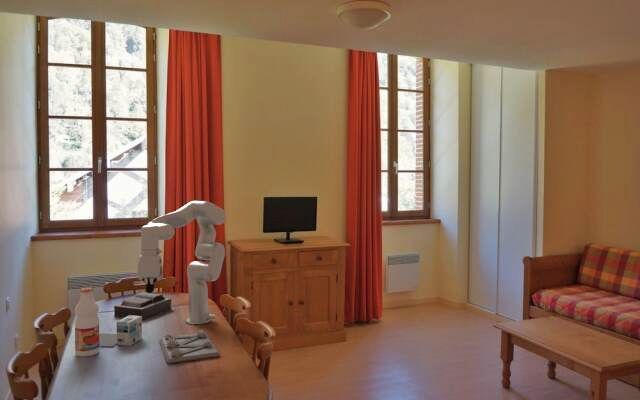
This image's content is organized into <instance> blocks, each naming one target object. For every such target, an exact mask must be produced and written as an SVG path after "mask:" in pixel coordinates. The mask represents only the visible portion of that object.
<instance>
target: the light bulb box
mask: <svg viewBox="0 0 640 400" xmlns="http://www.w3.org/2000/svg"><path fill="white" fill-rule="evenodd" d="M116 334H117V345H116V346H128V347H129V346H131V345H133V344H135V343H137V342H138V341H140V340H143V321H142V316H133V315H129V316H127V317H125V318H121V319H119V320H117V321H116Z"/></svg>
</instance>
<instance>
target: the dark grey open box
mask: <svg viewBox="0 0 640 400" xmlns="http://www.w3.org/2000/svg"><path fill="white" fill-rule="evenodd" d="M171 305H172V298H170V297H168V298H167V297H164V295H163V293H160V294H159V293H158V294H157V293H147V291H142V292H139V293H137V294H135V295H134V296H131V297H128V298H125V299H123V300H122V302H121V303H118V304H116V305H114V306H113V308H114V309H113V310H114V318H121V319H123V318H125V317H127V316H129V315H133V316H142V322H143V321H145V320H147V319H149V318H152V316H153V317H156V316H157V314H158V315H160V314H163V313H165V312H168V311H169V309H170V310H172V306H171ZM167 310H168V311H167ZM162 312H163V313H162Z"/></svg>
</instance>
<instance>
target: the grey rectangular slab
mask: <svg viewBox="0 0 640 400" xmlns="http://www.w3.org/2000/svg"><path fill="white" fill-rule="evenodd" d="M196 332H197V333H191V334H183V335H173V334H172V333H170V332H168V333H165V335H164V337H161V338H160V339H159V344H160V346H161V349H162V351H163V354H164V357H165V359H166V362H167V363H168V364H169V365H173V364H177V363H185V362H192V360H193V361H199V360H198V359H200V360H206V359H205V358H207V359H211V358H210V357H214V358H217V357H216V356H218V357H219V356H220V355H221V353H220V352H219V351H218V349H217V347H216V346H215V345H214V342H213V340H211V338H210V337H209V336H208V333H207V332H206V331H205V330H204V329H200V330H198V331H197V330H196Z"/></svg>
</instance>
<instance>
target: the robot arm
mask: <svg viewBox="0 0 640 400" xmlns="http://www.w3.org/2000/svg"><path fill="white" fill-rule="evenodd" d="M226 219H227V214H226V211H225V210H224V209H223V208H221V207H220V206H217V205H216V204H215V203H213V202H210V201H207V200H192V201H190V202H187V204H185V205H183V206H182V207H180V208H179V209H177V210H176V211H173V212H169V213H167V214H163V215H161V216H158V217H156V218H154V219H153V220H151V221H149V222H148V223H147V224H146V225H143V226H142V227H141V228H140V247H141V248H140V253H141V254H140V255H139V258H138V264H137V265H138V266H137V276H138V277H137V279H138V280H140V281H142V282H144V284H145V289H146V291H145V292H146V293H151V294H153V292H154V291H155V284H156V282H159V281H161V280H162V279H163V277H162V276H163V274H164V271H163V261H162V255H160V254H162V252H163V251H162V250H161V249H160V248H159V246H160V245H159V243H160V242H159V241H167V240H171V239H172V238H173V237H174V236H175V229H178V228H182V227H185V226H187V225H188V224H190V223H191V222H193V221H194V220H196V221H197V224H198V227H199V237H198V240H197V244H196V247H195V250H194V252H195V253H194V255H195V257H196V258H197V259H199V260H203V261H199V260H195V261H192V262H190V263H188V265H187V268H186V274H187V280H188V317H187V318H186V319H185V322H186V324H189V325H195V324H197V325H204V323H205V324H208V323H210V322H211V320H212V319H213V320H214V319H216V318H217V317H216V314H215V313H213V314H211V313H210V311H209V308H208V307H209V299H208V297H209V296H208V293H209V292H208V289H209V288H208V284H207V282H215V281H217V280H218V279H219V278H220V275H221V271H222V268H223V263H224V259H225V256H226V250H225V249H226V248H225V246H224V244H222V243H220V242H215V241H216V238H217V231H216V229H215V227H214V225H216V226H217V225H218V226H219V225H223V224H224V223H225V222H226Z"/></svg>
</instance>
